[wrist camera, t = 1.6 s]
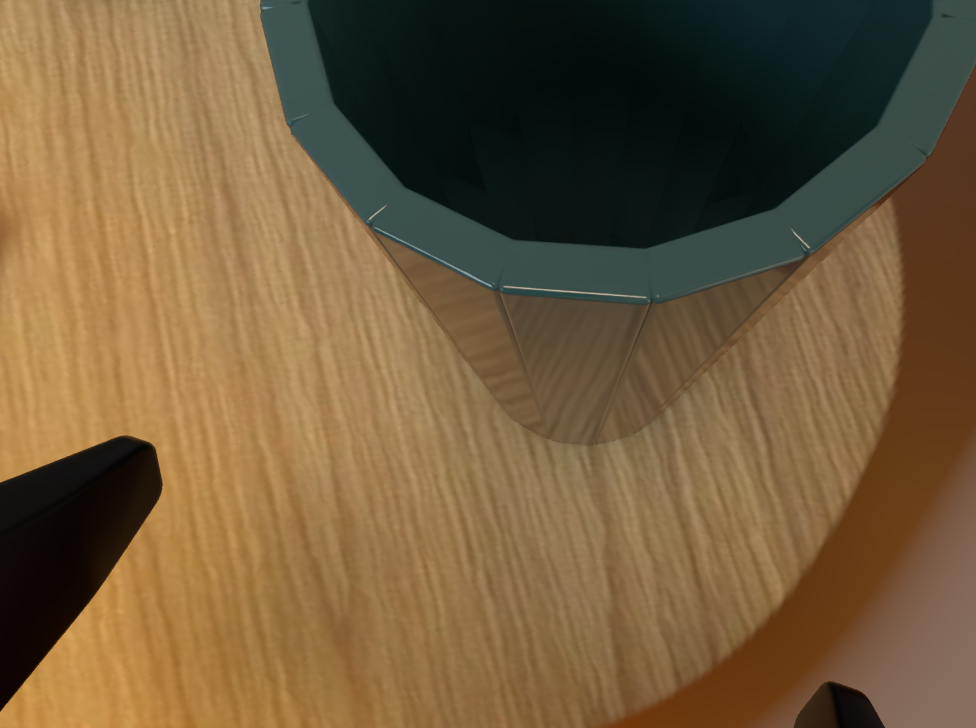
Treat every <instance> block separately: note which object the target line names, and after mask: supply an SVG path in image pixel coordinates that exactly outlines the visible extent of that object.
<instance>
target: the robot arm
mask: <svg viewBox="0 0 976 728" xmlns="http://www.w3.org/2000/svg"><path fill="white" fill-rule="evenodd" d="M162 485H163V484H162V478H161V473H160V468H159V463H158V458H157V453H156V450H155V447H154V446H153V445H152V444H151V443H149V442H147V441H144V440H141V439H138V438H135V437H132V436H119V437H116V438H114V439H111V440H108V441H106V442H103V443H101V444H98V445H96V446H93V447H91V448H88V449H85V450H83V451H80V452H78V453H75V454H73V455H70V456H67V457H65V458H62V459H60V460H57V461H55V462H52V463H50V464H47V465H44V466H42V467H39V468H37V469H34V470H32V471H29V472H27V473H24V474H21V475H19V476H16V477H14V478H11V479H9V480H6V481H4V482H1V483H0V711H1V710H2V709H3V708H4V706H5V705H6V704H7V703H8V702H9V700H10V699H11V698H12V697H13V695H14V694H15V693H16V692H17V691H18V689H19V688H20V687H21V686H22V684H23V683H24V682H25V681H26V679H27V678H28V677H29V676H30V675H31V673H32V672H33V671H34V670H35V668H36V667H37V666H38V665H39V663H40V662H41V661H42V660H43V659H44V657H45V656H46V655H47V654H48V652H49V651H50V650H51V649H52V648H53V646H54V645H55V644H56V643H57V641H58V640H59V639H60V638H61V636H62V635H63V634H64V633H65V632H66V630H67V629H68V628H69V627H70V625H71V624H72V623H73V622H74V620H75V619H76V618H77V617H78V616H79V614H80V613H81V612H82V611H83V609H84V608H85V607H86V606H87V604H88V603H89V602H90V600H91V599H92V598H93V597H94V595H95V594H96V593H97V591H98V590H99V588H100V587H101V586H102V584H103V583H104V581H105V580H106V578H107V577H108V575H109V574H110V572H111V571H112V569H113V568H114V566H115V565H116V563H117V562H118V560H119V559H120V557H121V556H122V554H123V553H124V551H125V550H126V548H127V547H128V545H129V544H130V542H131V541H132V539H133V538H134V536H135V535H136V533H137V532H138V530H139V529H140V527H141V526H142V524H143V523H144V521H145V520H146V518H147V517H148V515H149V514H150V512H151V511H152V509H153V507H154V506H155V504H156V503H157V501H158V499H159V497H160V495H161V492H162ZM794 728H885V727H884V725H883V723H882V722H881V720H880V718H879V716H878V714H877V713H876V711H875V709H874V707H873V706H872V704H871V702H870V701H869V699H868V698H867V697H866V696H865V695H864V694H863V693H862V692H860V691H858V690H856V689H853V688H850V687H847V686H844V685H842V684H839V683H836V682H833V681H828V682H825V683H823V684H822V685H821V686H820V688H819V689H818V690H817V691H816V693H815V694H814V695H813V696H812V698H811V699H810V700H809V701H808V703H807V704H806V705H805V706H804V708H803V709H802V710H801V711H800V713H799V714H798V717H797V719H796V722H795V725H794Z"/></svg>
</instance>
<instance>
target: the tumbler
mask: <svg viewBox="0 0 976 728" xmlns="http://www.w3.org/2000/svg"><path fill="white" fill-rule="evenodd" d="M260 9H261V14H260V18H261V22H262V27H263V31H264V35H265V39H266V43H267V47H268V51H269V55H270V59H271V64H272V68H273V72H274V76H275V80H276V84H277V88H278V92H279V96H280V101H281V105H282V109H283V113H284V117H285V121H286V124H287V126H288V127H289V128H290V131H291V134H292V136H293V137H294V138H295V140H296V141H297V142H298V144H299V145H300V146H301V147H302V149H303V150H304V151H305V153H306V154H307V155H308V157H309V158H310V159H311V160H312V162H313V163H314V164H315V166H316V167H317V168H318V170H319V171H320V172H321V173H322V175H323V176H324V177H325V179H326V180H327V181H328V183H329V184H330V185H331V186H332V188H333V189H334V190H335V192H336V193H337V194H338V196H339V197H340V198H341V199H342V201H343V202H344V203H345V205H346V206H347V207H348V209H349V210H350V211H351V212H352V214H353V215H354V216H355V218H356V219H357V220H358V222H359V223H360V224H361V225H362V227H363V228H364V229H365V231H366V232H367V233H368V235H369V236H370V237H371V238H372V240H373V241H374V242H375V244H376V245H377V246H378V248H379V249H380V250H381V251H382V253H383V254H384V255H385V257H386V258H387V259H388V261H389V262H390V263H391V264H392V266H393V267H394V268H395V270H396V271H397V272H398V274H399V275H400V276H401V277H402V279H403V280H404V281H405V283H406V284H407V285H408V287H409V288H410V289H411V290H412V292H413V293H414V294H415V296H416V297H417V298H418V300H419V301H420V302H421V303H422V305H423V306H424V307H425V309H426V310H427V311H428V313H429V314H430V315H431V316H432V318H433V319H434V320H435V322H436V323H437V324H438V326H439V327H440V328H441V329H442V331H443V332H444V333H445V335H446V336H447V337H448V339H449V340H450V341H451V342H452V344H453V345H454V346H455V348H456V349H457V350H458V352H459V353H460V354H461V355H462V357H463V358H464V359H465V361H466V362H467V363H468V365H469V366H470V367H471V368H472V370H473V371H474V372H475V374H476V375H477V376H478V378H479V379H480V380H481V381H482V383H483V384H484V385H485V387H486V388H487V389H488V390H489V392H490V393H491V394H492V395H493V397H494V398H495V399H496V400H497V402H498V403H499V404H500V405H501V407H502V408H503V409H504V410H505V412H506V413H507V414H508V415H509V416H510V418H512V419H513V420H514V421H516V422H517V423H519V424H521V425H522V426H524V427H525V428H527V429H529V430H530V431H532V432H534V433H536V434H538V435H540V436H543V437H545V438H547V439H551V440H552V441H557V442H563V443H568V444H580V445H589V444H590V445H593V444H600V443H605V442H610V441H614V440H617V439H620V438H622V437H625V436H628V435H630V434H634V433H636V432H637V431H640V430H641V429H642V428H643V427H645V426H646V425H647V424H648V423H650V422H651V421H652V420H653V419H654V418H656V417H657V416H658V415H659V414H660V413H662V412H663V411H664V410H665V409H667V408H668V407H669V406H670V405H671V404H672V403H673V402H674V401H676V400H677V399H678V398H679V397H680V396H681V395H682V394H683V393H684V392H685V391H686V390H687V389H688V388H689V387H690V386H691V385H692V384H693V383H694V382H695V381H697V380H698V379H699V378H700V377H701V376H702V375H703V374H704V373H705V372H706V371H707V370H708V369H709V368H710V367H711V366H712V365H713V364H714V363H715V362H716V361H718V360H719V359H720V358H721V357H722V356H723V355H724V354H725V353H726V352H727V351H728V350H729V349H730V348H731V347H732V346H733V345H734V344H735V343H736V342H737V341H739V340H740V339H741V338H742V337H743V336H744V335H745V334H746V333H747V332H748V331H749V330H750V329H751V328H752V327H753V326H754V325H755V324H756V323H757V322H759V321H760V320H761V319H762V318H763V317H764V316H765V315H766V314H767V313H768V312H769V311H770V310H771V309H772V308H773V307H774V306H775V305H776V304H777V303H778V302H780V301H781V300H782V299H783V298H784V297H785V296H786V295H787V294H788V293H789V292H790V291H791V290H792V289H793V288H794V287H795V286H796V285H797V284H798V283H799V282H801V281H802V280H803V279H804V278H805V277H806V276H807V275H808V274H809V273H810V272H811V271H812V270H813V269H814V268H815V267H816V266H817V265H818V264H819V263H821V262H822V261H823V260H824V259H825V258H826V257H827V256H828V255H829V254H830V253H831V252H832V251H833V250H834V249H835V248H836V247H837V246H838V245H839V244H840V243H842V242H843V241H844V240H845V239H846V238H847V237H848V236H849V235H850V234H851V233H852V232H853V231H854V230H855V229H856V228H857V227H858V226H859V225H860V224H861V223H863V222H864V221H865V220H866V219H867V218H868V217H869V216H870V215H871V214H872V213H873V212H874V211H875V210H876V209H877V208H878V207H879V206H880V205H881V204H882V203H884V202H885V201H886V200H887V199H888V198H889V197H890V196H891V195H892V194H893V193H894V192H895V191H896V190H897V189H898V188H899V187H900V186H901V185H902V184H904V183H905V182H906V181H907V180H908V179H909V178H910V177H911V176H912V175H913V174H914V173H915V172H916V171H917V170H918V169H919V168H920V167H921V166H922V165H923V164H924V162H925V160H926V159H927V158H928V157H929V156H930V155H931V154H932V153H933V151H934V149H935V147H936V145H937V143H938V140H939V139H940V137H941V134H942V132H943V131H944V129H945V127H946V125H947V122H948V120H949V119H950V117H951V114H952V112H953V110H954V108H955V106H956V104H957V102H958V100H959V98H960V96H961V94H962V92H963V90H964V88H965V86H966V84H967V82H968V80H969V78H970V76H971V74H972V72H973V70H974V68H975V66H976V0H261V1H260Z"/></svg>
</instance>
